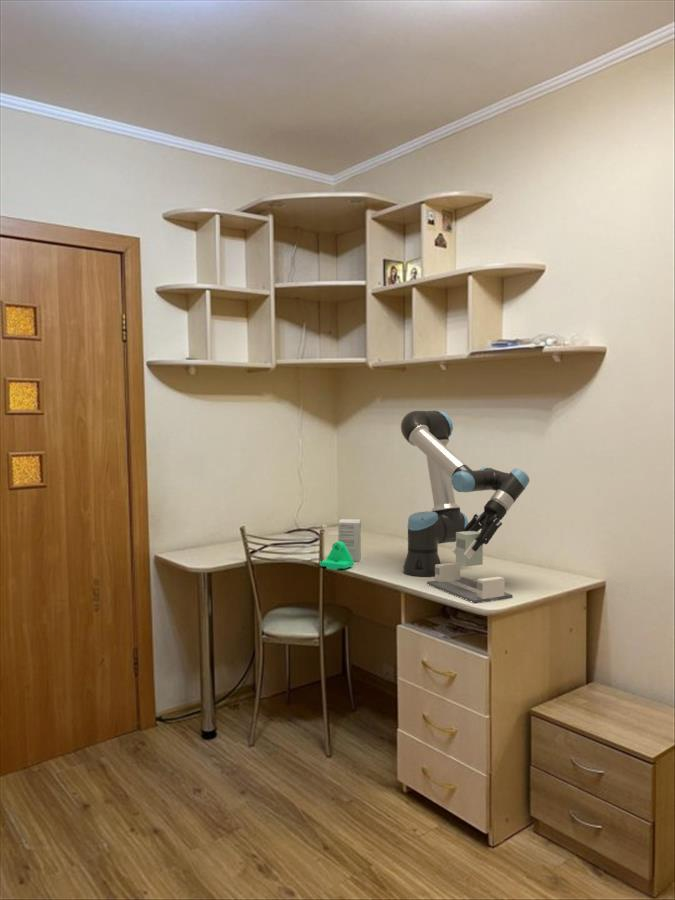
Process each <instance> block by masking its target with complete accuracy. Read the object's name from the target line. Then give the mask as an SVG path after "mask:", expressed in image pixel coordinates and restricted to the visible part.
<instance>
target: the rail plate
mask: <svg viewBox="0 0 675 900" xmlns="http://www.w3.org/2000/svg"><path fill="white" fill-rule="evenodd" d="M434 578H435V579H434V580H430V581H427V582H426V585H427V584H429V585H428V586H430V585H431V586H430V587H432V586H434V587H433V588H435V587H436V589H437V588H439V589H438V590H440V589H441V590H440V591H442V590H444V591H443V592H445V591H446V592H445V593H447V592H449V593H448V594H450V593H452V594H454V595H453V596H455V595H456V596H455V597H457V596H459V597H458V598H460V597H462V598H464V599H463V600H465V599H467V600H469V601H468V602H470V601H472V602H474V603H473V604H476V603H475V602H480V603H483V602H482V601H487V602H492V601H491V600H494V601H498V600H506V599H507V600H508V599H512V598H513V596H514V594H512V593H509V592H506V591H505V583H506V582H505V580H506V579H505V577H501V576H493V577H491V576H490V577H485V578H484V577H483V578H477V580H476V581H475V580H472V579H469V578H467V577H464V576H462V577H461V565H460V564H457V563H456V561H455V562H447V563H441V564H436V565H435V576H434ZM452 594H451V595H452ZM462 598H461V599H462ZM467 600H466V601H467ZM472 602H471V603H472Z"/></svg>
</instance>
